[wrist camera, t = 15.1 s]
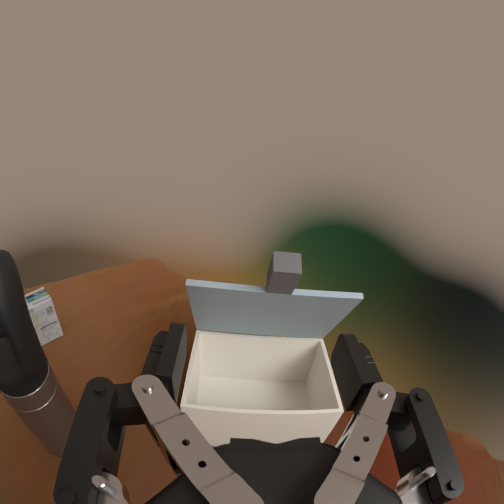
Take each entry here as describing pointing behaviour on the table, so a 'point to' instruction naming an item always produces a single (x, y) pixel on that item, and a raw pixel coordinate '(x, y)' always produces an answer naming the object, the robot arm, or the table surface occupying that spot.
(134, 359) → the table surface
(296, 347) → the carton
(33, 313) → the light bulb box
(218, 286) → the lid
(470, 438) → the table surface
